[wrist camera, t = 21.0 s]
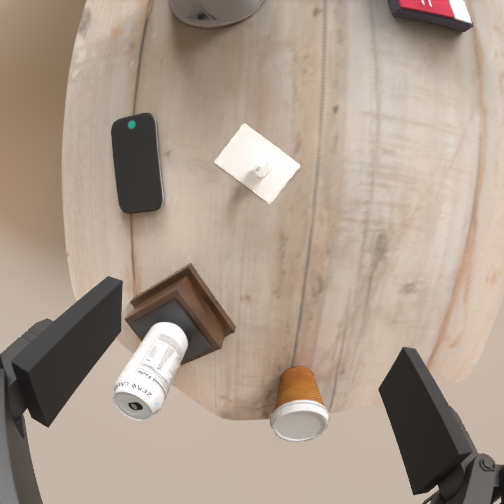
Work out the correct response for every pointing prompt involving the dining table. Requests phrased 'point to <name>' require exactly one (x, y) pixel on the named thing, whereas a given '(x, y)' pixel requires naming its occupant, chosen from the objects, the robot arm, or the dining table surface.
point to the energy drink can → (150, 372)
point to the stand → (183, 312)
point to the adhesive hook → (257, 163)
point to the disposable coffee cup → (299, 407)
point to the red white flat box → (434, 12)
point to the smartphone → (137, 163)
